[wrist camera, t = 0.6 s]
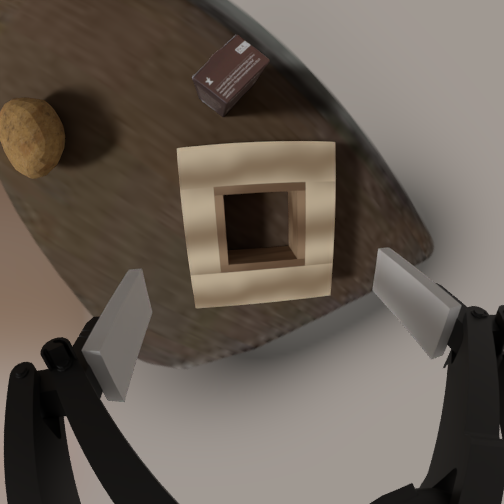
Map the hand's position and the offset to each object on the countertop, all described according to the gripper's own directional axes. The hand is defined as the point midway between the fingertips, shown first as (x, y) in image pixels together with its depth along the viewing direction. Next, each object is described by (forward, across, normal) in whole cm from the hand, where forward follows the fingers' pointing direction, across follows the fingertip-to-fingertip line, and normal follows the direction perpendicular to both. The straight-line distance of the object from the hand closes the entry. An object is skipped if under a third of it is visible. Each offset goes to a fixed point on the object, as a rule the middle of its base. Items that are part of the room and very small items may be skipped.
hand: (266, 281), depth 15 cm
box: (+24, -1, +14) cm, 28 cm away
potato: (+24, -28, +13) cm, 39 cm away
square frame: (+24, +2, -3) cm, 24 cm away
